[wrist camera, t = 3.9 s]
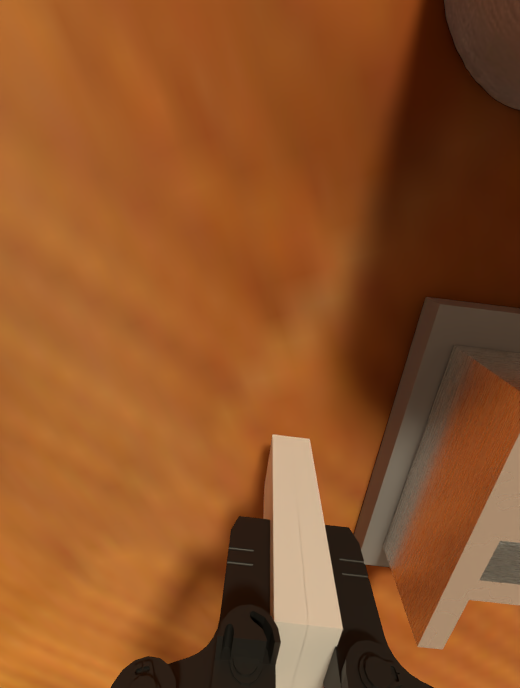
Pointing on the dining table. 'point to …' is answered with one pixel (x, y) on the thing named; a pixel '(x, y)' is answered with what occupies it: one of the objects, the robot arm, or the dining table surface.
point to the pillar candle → (489, 44)
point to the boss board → (425, 402)
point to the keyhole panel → (461, 498)
